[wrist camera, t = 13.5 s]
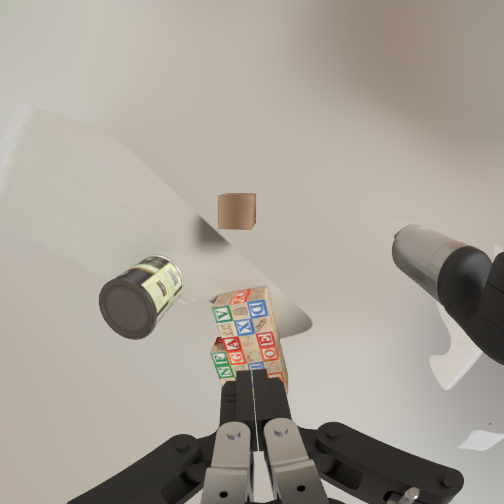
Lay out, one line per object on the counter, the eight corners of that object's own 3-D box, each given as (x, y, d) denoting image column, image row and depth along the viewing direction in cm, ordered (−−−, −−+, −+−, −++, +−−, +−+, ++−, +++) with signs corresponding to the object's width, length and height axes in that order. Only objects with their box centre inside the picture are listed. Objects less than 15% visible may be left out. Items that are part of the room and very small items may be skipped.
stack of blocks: (267, 284, 51) (203, 295, 53) (265, 298, 45) (194, 310, 47) (288, 375, 56) (232, 382, 58) (288, 395, 50) (227, 401, 52)
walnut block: (255, 193, 47) (252, 195, 41) (255, 222, 49) (251, 229, 42) (226, 193, 48) (218, 195, 41) (226, 222, 49) (218, 228, 42)
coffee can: (128, 281, 54) (90, 310, 40) (152, 244, 51) (114, 265, 38) (166, 314, 55) (137, 351, 41) (194, 279, 52) (167, 311, 39)
